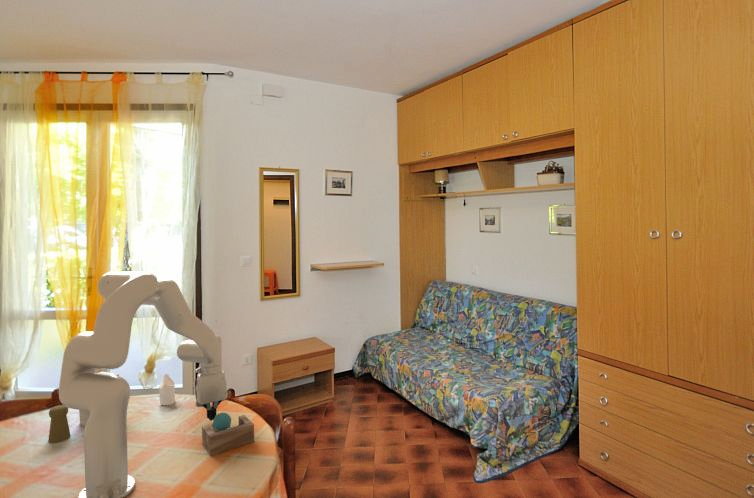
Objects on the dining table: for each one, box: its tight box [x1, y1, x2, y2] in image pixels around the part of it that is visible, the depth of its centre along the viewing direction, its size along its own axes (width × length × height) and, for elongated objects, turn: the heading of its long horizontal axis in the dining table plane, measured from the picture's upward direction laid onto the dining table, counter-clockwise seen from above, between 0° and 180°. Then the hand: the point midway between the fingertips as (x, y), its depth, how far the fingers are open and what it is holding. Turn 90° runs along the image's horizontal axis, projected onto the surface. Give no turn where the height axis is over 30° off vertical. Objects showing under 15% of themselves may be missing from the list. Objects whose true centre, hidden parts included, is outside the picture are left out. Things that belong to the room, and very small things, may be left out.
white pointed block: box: [158, 373, 176, 407], centre depth 168 cm, size 6×12×6 cm
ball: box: [212, 412, 232, 432], centre depth 145 cm, size 6×6×6 cm
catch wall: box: [201, 414, 255, 457], centre depth 136 cm, size 9×14×6 cm, turn 128°
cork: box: [47, 404, 71, 444], centre depth 139 cm, size 6×6×11 cm
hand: (211, 418), depth 150 cm, fingers closed
